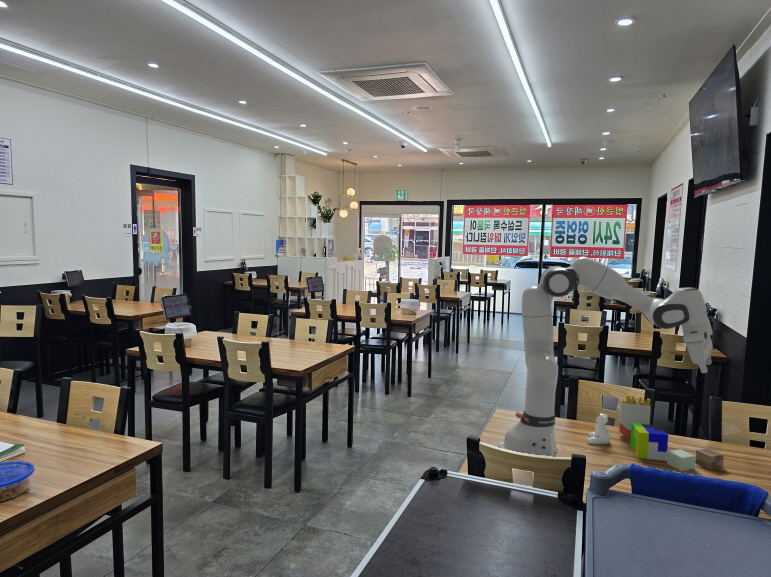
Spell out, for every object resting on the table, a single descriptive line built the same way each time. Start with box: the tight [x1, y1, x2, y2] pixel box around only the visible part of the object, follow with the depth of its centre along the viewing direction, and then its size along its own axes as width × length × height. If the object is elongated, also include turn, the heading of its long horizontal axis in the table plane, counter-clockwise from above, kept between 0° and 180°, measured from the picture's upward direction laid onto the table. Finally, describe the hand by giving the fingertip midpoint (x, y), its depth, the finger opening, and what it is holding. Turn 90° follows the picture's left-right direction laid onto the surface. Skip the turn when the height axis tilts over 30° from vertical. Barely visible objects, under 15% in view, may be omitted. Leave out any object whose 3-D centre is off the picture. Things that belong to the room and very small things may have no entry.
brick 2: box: [695, 448, 725, 471], centre depth 184 cm, size 6×6×5 cm
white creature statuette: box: [586, 413, 612, 445], centre depth 204 cm, size 10×9×12 cm
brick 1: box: [666, 449, 696, 472], centre depth 182 cm, size 6×6×5 cm
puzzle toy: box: [630, 423, 669, 462], centre depth 193 cm, size 10×10×10 cm
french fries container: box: [618, 394, 652, 440], centre depth 209 cm, size 5×11×18 cm, turn 68°
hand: (706, 368), depth 180 cm, fingers open, 8 cm apart
